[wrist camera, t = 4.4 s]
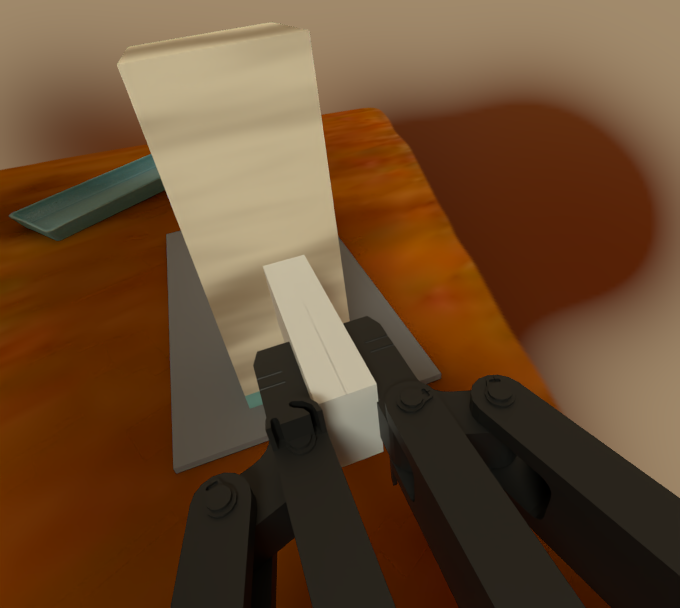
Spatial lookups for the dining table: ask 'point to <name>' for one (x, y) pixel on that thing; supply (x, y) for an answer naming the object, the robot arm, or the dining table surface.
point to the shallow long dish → (92, 200)
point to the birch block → (241, 169)
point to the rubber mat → (217, 369)
